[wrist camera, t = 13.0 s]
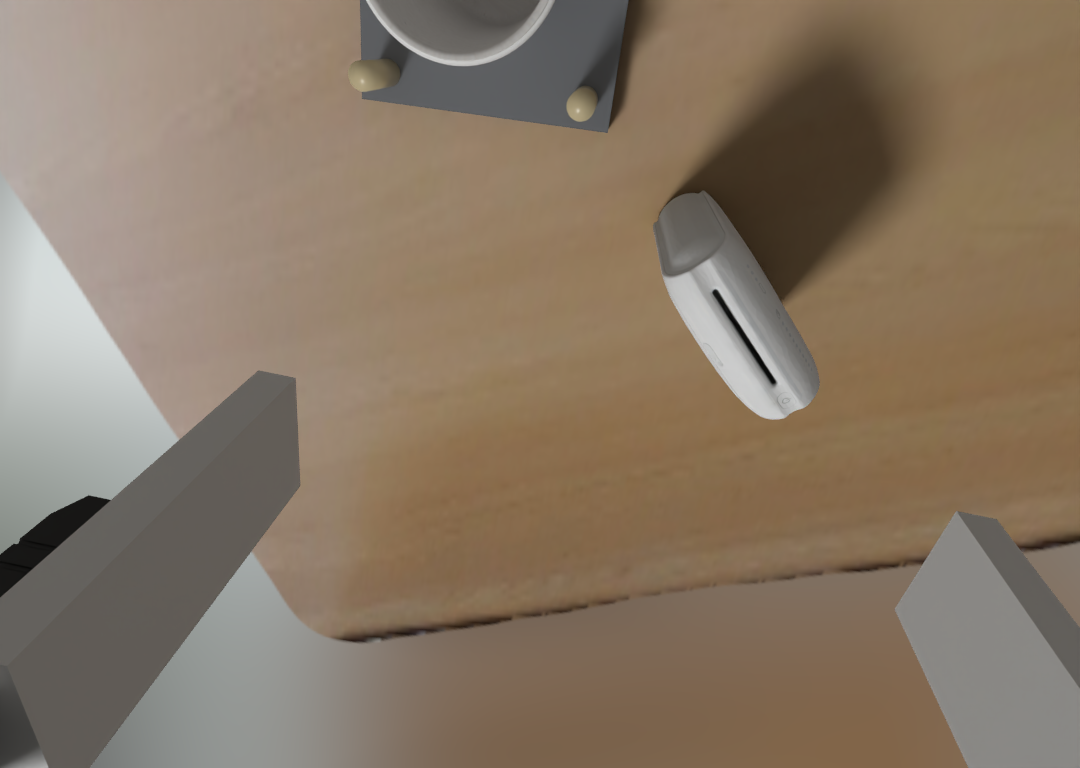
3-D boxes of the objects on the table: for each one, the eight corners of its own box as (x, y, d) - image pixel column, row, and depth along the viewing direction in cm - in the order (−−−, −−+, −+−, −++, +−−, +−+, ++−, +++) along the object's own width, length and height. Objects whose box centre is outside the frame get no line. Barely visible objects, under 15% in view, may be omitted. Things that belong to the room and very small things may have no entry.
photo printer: (787, 311, 40) (847, 410, 29) (726, 345, 42) (762, 450, 31) (704, 175, 37) (739, 230, 26) (642, 218, 38) (650, 286, 28)
